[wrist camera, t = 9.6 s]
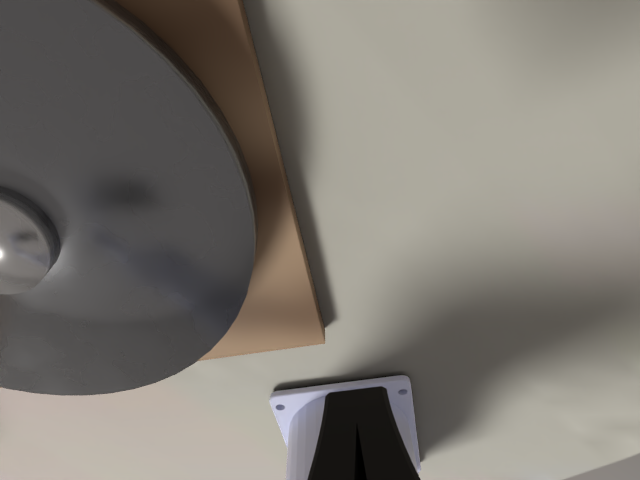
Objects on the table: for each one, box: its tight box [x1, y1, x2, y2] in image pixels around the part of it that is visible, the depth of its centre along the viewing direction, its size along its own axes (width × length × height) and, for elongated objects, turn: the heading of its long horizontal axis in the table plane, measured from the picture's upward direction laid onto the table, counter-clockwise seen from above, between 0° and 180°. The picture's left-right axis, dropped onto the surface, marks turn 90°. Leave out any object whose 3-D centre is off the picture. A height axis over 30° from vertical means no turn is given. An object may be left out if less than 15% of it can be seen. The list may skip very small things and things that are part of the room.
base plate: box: [0, 0, 325, 388], centre depth 19 cm, size 20×20×1 cm
